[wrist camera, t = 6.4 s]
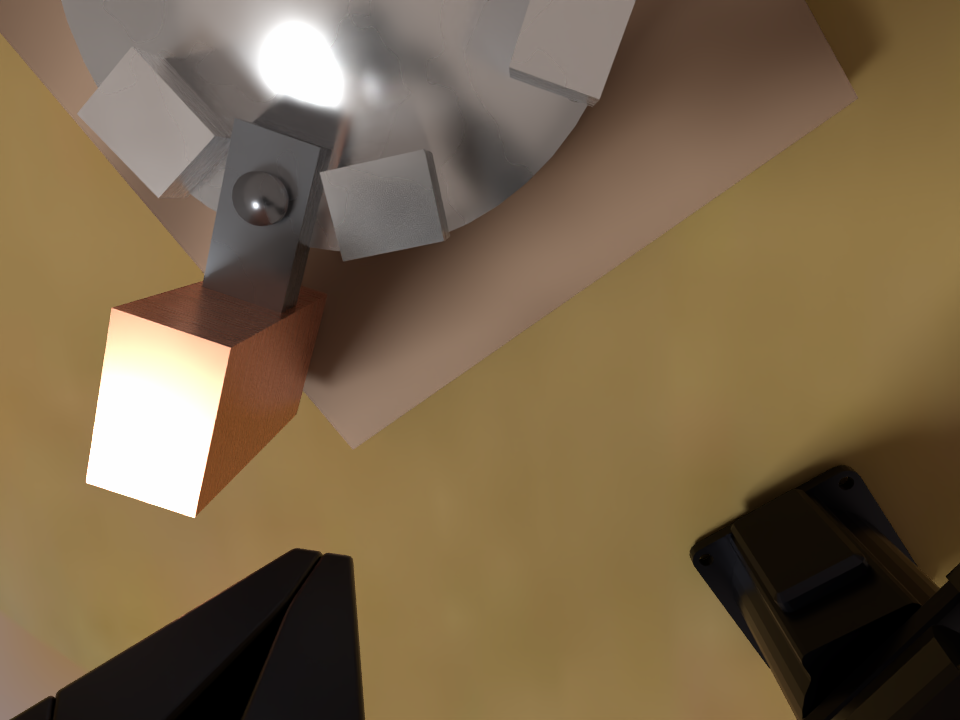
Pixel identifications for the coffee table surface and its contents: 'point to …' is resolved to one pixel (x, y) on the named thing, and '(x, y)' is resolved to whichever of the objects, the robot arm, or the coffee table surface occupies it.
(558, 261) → the square disc baseplate
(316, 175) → the round disc with cubes
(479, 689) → the coffee table surface
